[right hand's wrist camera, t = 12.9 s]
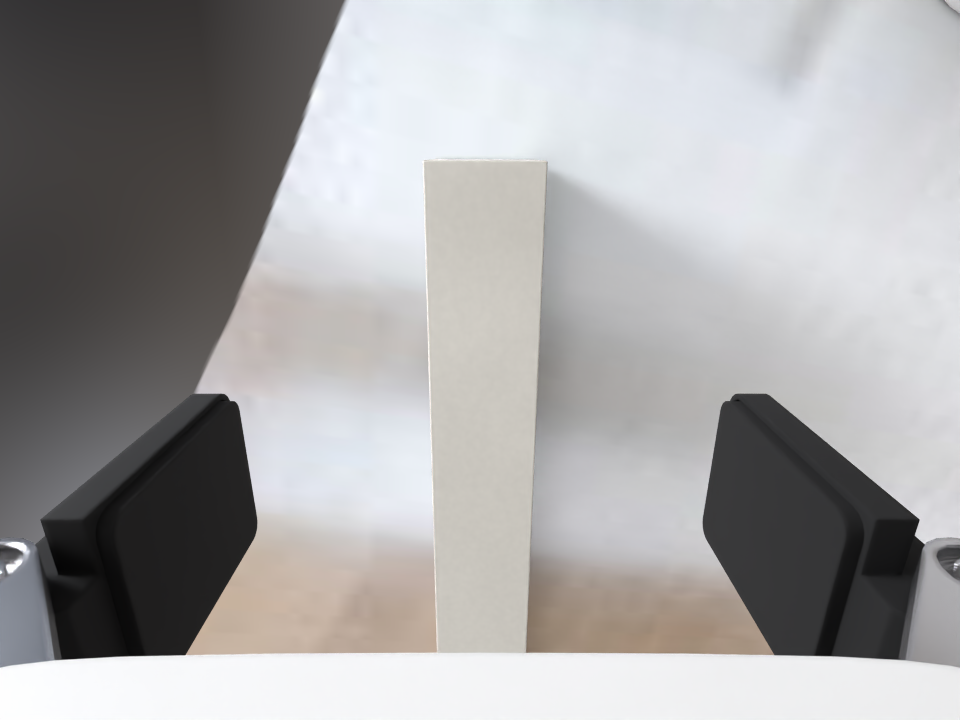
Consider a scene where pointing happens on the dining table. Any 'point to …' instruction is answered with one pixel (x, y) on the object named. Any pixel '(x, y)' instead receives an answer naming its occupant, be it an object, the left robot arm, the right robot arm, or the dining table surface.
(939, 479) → the dining table surface
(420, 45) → the dining table surface
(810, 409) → the dining table surface
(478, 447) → the block
